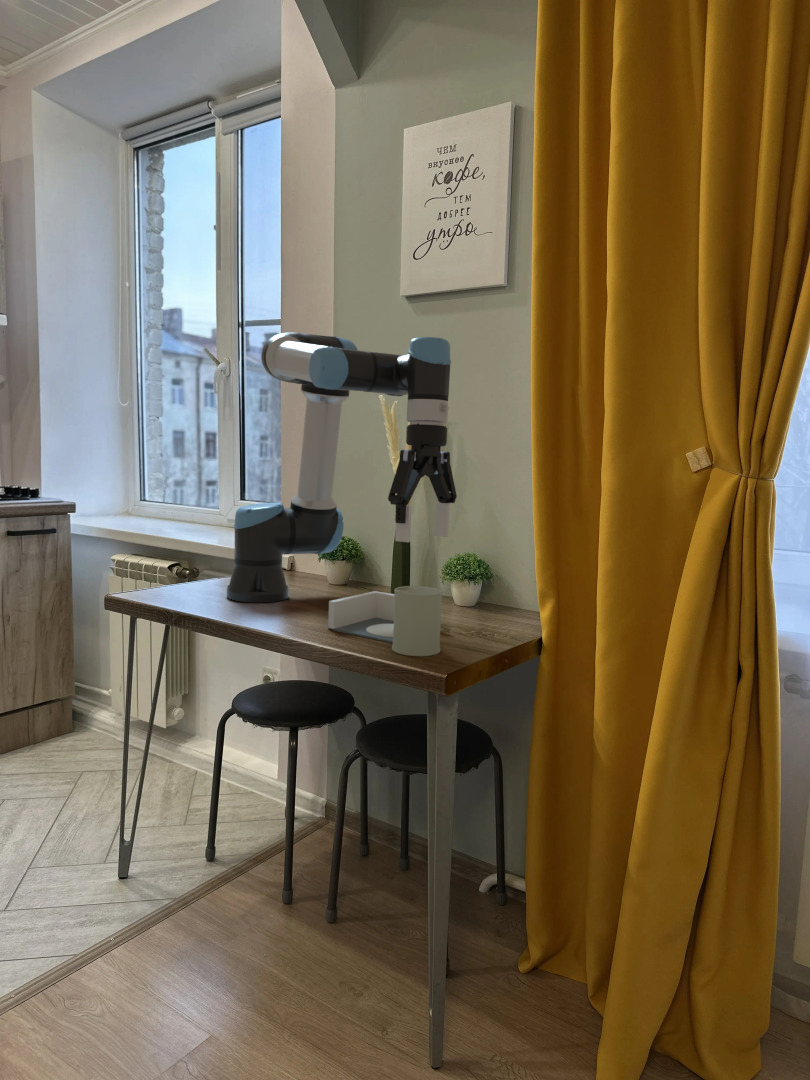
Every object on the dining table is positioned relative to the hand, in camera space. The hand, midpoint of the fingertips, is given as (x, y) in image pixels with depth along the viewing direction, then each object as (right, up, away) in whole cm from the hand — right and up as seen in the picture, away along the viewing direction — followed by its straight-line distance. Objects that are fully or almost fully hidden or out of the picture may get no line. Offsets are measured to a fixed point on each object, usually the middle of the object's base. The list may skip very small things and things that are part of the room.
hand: (422, 539), depth 139 cm
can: (-1, -21, +2) cm, 21 cm away
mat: (-8, -19, +17) cm, 27 cm away
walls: (-8, -19, +17) cm, 27 cm away
